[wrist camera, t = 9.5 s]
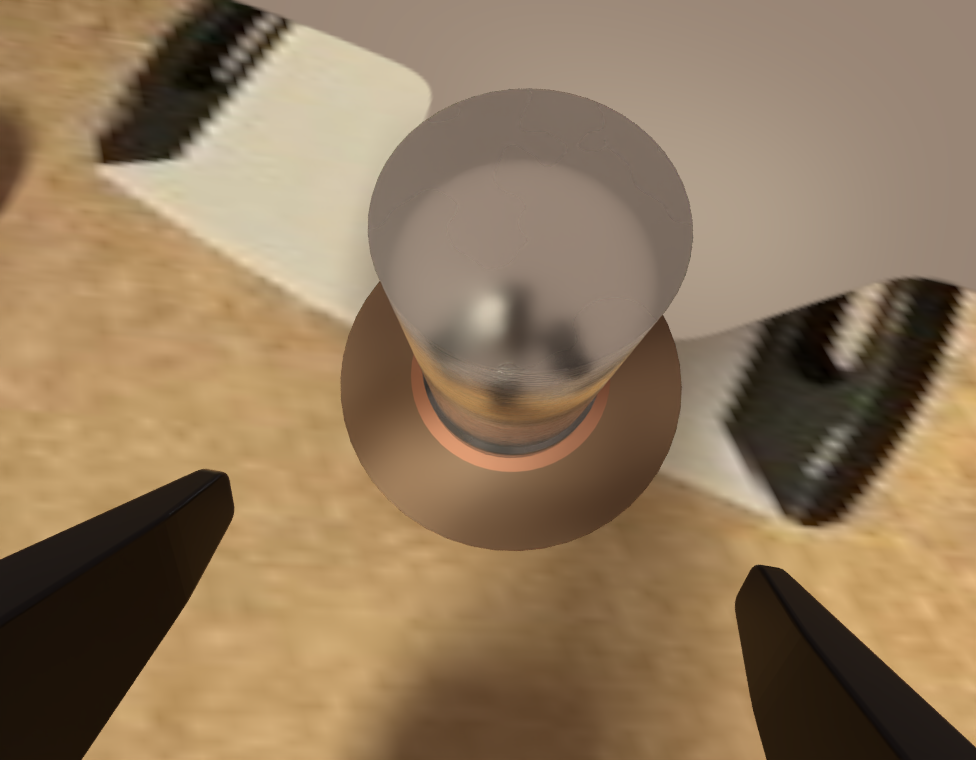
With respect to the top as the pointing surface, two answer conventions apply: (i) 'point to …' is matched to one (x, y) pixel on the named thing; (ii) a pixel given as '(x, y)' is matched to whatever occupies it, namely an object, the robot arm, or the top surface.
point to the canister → (526, 258)
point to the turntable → (495, 480)
